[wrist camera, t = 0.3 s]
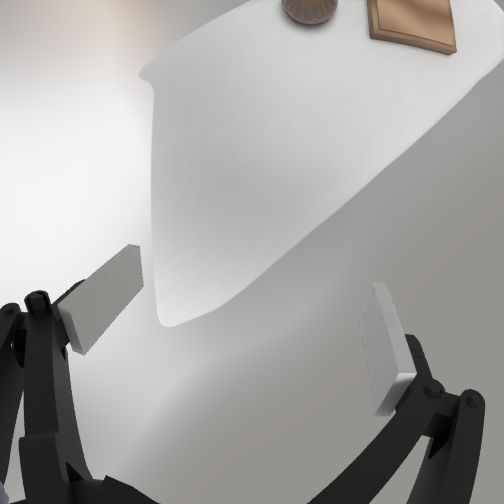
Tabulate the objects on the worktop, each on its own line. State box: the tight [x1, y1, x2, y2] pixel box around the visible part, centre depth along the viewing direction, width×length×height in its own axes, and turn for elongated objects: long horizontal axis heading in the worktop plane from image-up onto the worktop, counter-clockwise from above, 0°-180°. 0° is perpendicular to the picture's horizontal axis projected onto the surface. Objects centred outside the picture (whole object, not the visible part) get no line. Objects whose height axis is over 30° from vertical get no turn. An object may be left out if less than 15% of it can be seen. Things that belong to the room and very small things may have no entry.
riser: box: [367, 0, 457, 55], centre depth 25 cm, size 12×12×3 cm
